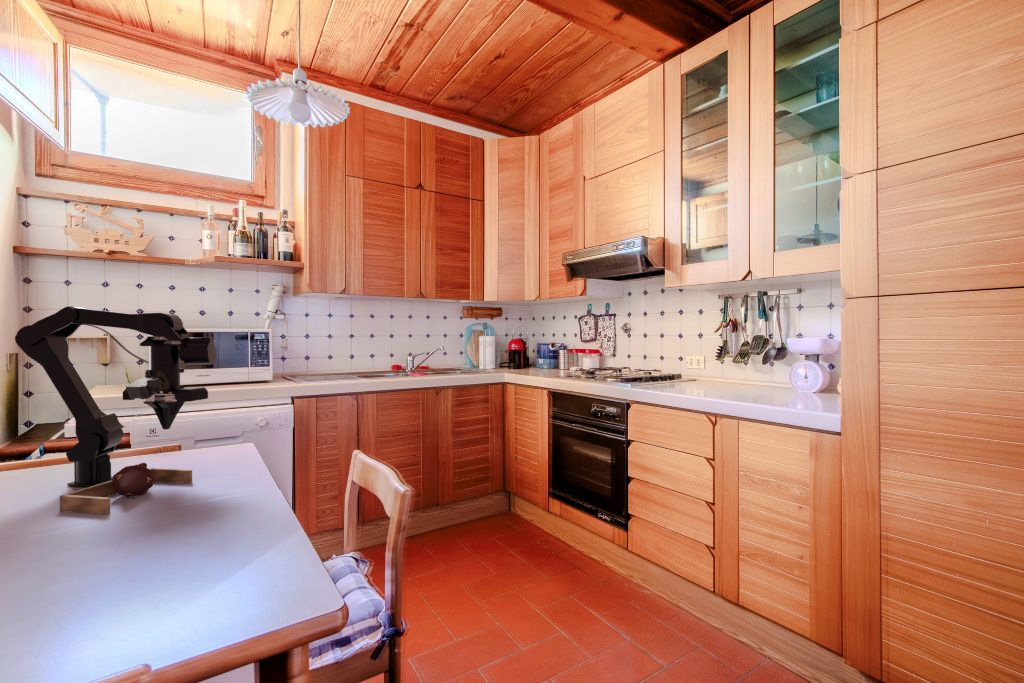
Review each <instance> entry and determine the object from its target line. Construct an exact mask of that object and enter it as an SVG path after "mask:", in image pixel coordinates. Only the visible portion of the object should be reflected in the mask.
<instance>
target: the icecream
mask: <svg viewBox="0 0 1024 683" xmlns="http://www.w3.org/2000/svg"><path fill="white" fill-rule="evenodd" d="M149 469H150V468H148V464H147V462H141V463H138V464H134V465H127V466H124V467H123V468H121V469H120V470H119V471H117V472H116V473H114V474H113V476H112V477H113V480H112V484H113V486H114V490H115V492H116V494H118V495H120V496H123V497H125V498H135V497H141V496H143V495H145V494H146V493H147V492H148V491H149V490H150V489H151V488H152V487H153V485H154V482H155V481H154V477H153V473H152V472H151V471H150V470H149ZM140 495H141V496H140ZM134 496H135V497H134Z"/></svg>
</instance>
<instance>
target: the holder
mask: <svg viewBox="0 0 1024 683" xmlns="http://www.w3.org/2000/svg"><path fill="white" fill-rule="evenodd" d="M148 469H149V470H150V471H151V472H152V473H153V477H154V482H155V481H163V482H162V483H171V482H180V483H179V484H188V483H190V484H192V483H193V470H192V469H181V468H179V469H178V468H164V467H162V468H161V467H151V468H148ZM181 482H183V483H181ZM191 482H192V483H191ZM116 494H117V493H116V492H115V490H114V486H113V484H112V480H111V481H107V482H104V483H101V484H97V485H94V486H91V487H83V488H82V489H78V490H75V491H71V492H69V493H65V494H61V495H59V512H67V511H72V512H71V513H80V512H85V513H84V514H94V513H97V514H98V515H108V514H111V497H110V496H113V495H116Z"/></svg>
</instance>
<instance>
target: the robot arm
mask: <svg viewBox="0 0 1024 683" xmlns="http://www.w3.org/2000/svg"><path fill="white" fill-rule="evenodd" d="M82 325H87V326H89V325H90V326H96V327H97V326H99V327H107V328H108V327H109V328H119V329H127V330H132V331H135V332H139V333H141V334H145V335H150V336H147V337H146V338H145V339H144V340H143V341H142V342H140V343H139V346H140V347H150V369H146V370H145V372H144V373H145V374H144V377H141V378H138V379H136V380H134V381H132V382H130V383H129V384H126V385H125V389H124V390H123V391H122V400H123V401H134V400H136V399H140V400H145V401H142V403H143V404H145V405H148V406H149V407H150V408H152V409H153V411H154V413H155V414H156V416H157V419H158V421H159V424H160V425H161V428H162V429H163V430H170V428H171V427H172V424H173V423H174V421H175V419H176V417H177V414H178V413H179V412H180V410H181V409H182V407H183V405H184V404H185V403H187V402H195V401H201V400H207V399H209V390H208V389H207V388H206V387H201V386H200V387H199V386H197V387H196V386H192V387H191V386H190V387H185V384H181V374H182V373H185V368H184V367H183V368H181V362H184V364H185V365H189V366H190V365H214V363H215V362H216V360H217V349H216V346H215V343H214V341H213V340H214V338H213V337H212V336H203V337H193V336H192V334H190V333H189V332H188V330H187V329H186V328H185V327H184V322H183V320H182V318H180V317H179V315H177V314H174V313H166V312H144V313H128V312H125V313H124V312H117V311H110V310H108V311H107V310H101V309H99V310H98V309H92V308H84V307H81V306H72V305H70V306H65V307H63V308H61V309H59V310H58V311H57V312H54V313H53V314H51V315H48V316H46V317H44V318H42V319H40V320H38V321H36V322H34V323H32V324H31V325H30V324H29V325H25V326H23V327H21V328H20V329H19V330H18V331H17V332H16V335H14V342H15V344H16V345H17V346H18V347H19V348H20V350H21V351H22V352H23V353H24V354H25V355H26V356H27V357H28V358H30V359H31V360H33V361H34V362H36V363H37V364H39V365H40V366H41V367H42V369H43V370H44V371H45V373H46V375H47V376H48V378H49V379H50V381H51V383H52V385H53V386H54V388H55V389H56V391H57V392H58V394H59V396H60V398H61V399H62V401H63V402H64V404H65V406H66V407H67V408H68V410H69V412H70V414H71V415H72V416H73V418H74V421H75V428H74V429H75V432H74V433H75V436H76V439H77V442H76V444H74V445H73V446H72V447H71V448H70V449H69V450H67V452H65V455H66V457H67V459H68V462H70V463H72V462H74V463H73V464H74V466H73V468H74V470H73V471H74V481H71V482H68V483H66V485H67V486H68V487H83V488H88V487H91V486H94V485H97V484H101V483H104V482H107V481H111V480H113V476H112V462H111V455H109V454H110V453H114V452H115V450H116V447H117V445H119V444H120V443H121V442H122V440H123V437H124V436H125V435H124V430H123V429H124V428H125V425H122V424H121V422H120V421H119V418H118V416H117V414H116V413H115V412H113V413H110V414H107V413H105V412H103V411H102V410H101V409H100V407H99V406H98V404H97V402H96V401H95V399H94V397H93V396H92V394H91V393H90V391H89V389H88V388H87V387H86V384H85V383H84V381H83V379H82V377H81V376H80V374H79V373H78V372H77V369H76V368H75V367H74V365H73V363H72V362H71V360H70V358H69V344H68V341H67V339H68V338H69V337H71V336H72V335H74V333H76V331H77V330H78V329H79V328H80V327H81V326H82ZM155 337H157V338H161V337H162V338H165V339H157V338H155ZM173 342H180V343H173Z"/></svg>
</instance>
